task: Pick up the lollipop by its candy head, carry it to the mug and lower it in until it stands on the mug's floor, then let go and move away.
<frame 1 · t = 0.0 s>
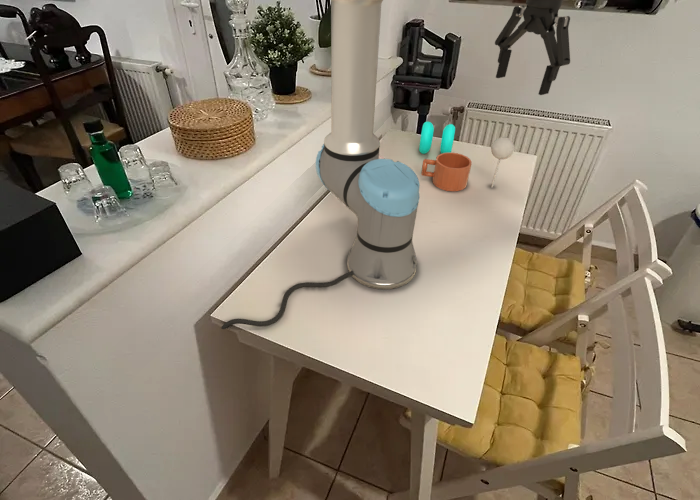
hand: (520, 85, 107), 28 cm above the table, tool pointing down, fingers open, 13 cm apart
donuts: (434, 154, 138), on the table
cupcake: (376, 188, 121), on the table
mug: (449, 182, 124), on the table
lollipop: (491, 187, 123), on the table
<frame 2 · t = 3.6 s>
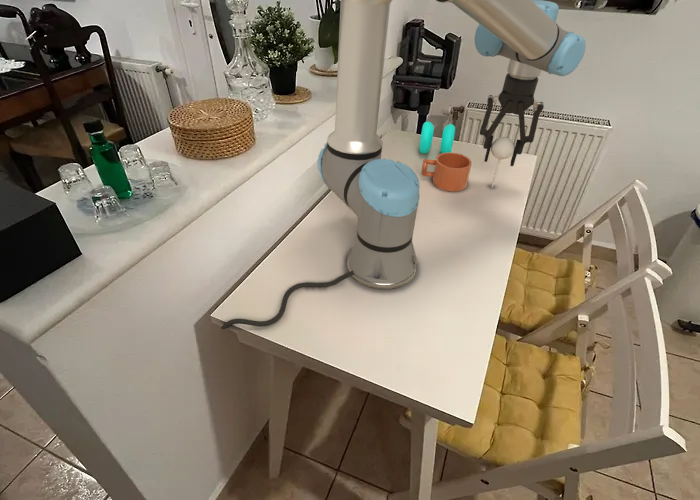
hand: (498, 161, 118), 8 cm above the table, tool pointing down, fingers closed on lollipop, 6 cm apart
lollipop: (491, 187, 123), on the table, touching gripper
everything else where it was.
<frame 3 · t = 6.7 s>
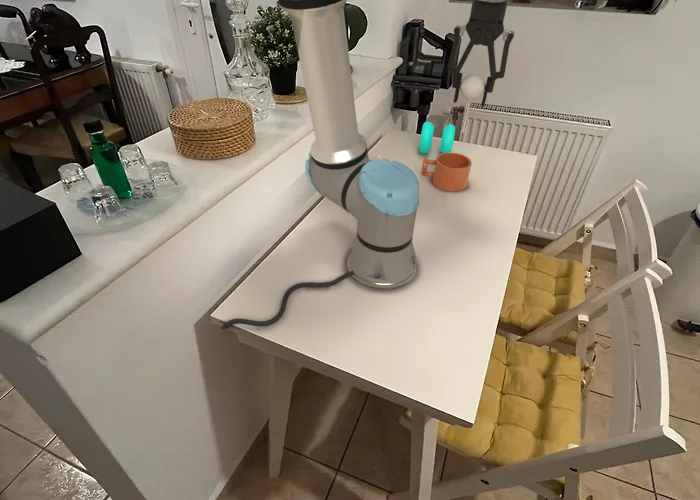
hand: (469, 102, 109), 23 cm above the table, tool pointing down, fingers closed on lollipop, 6 cm apart
lollipop: (462, 133, 114), point 15 cm above the table, touching gripper
everything else where it was.
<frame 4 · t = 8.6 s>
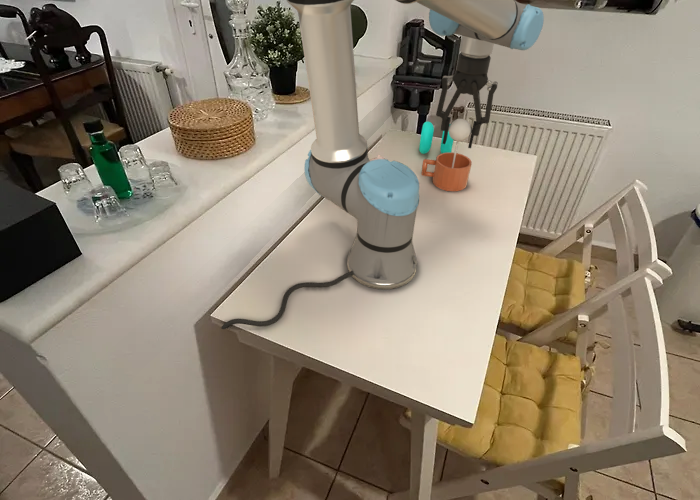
hand: (457, 143, 117), 12 cm above the table, tool pointing down, fingers closed on lollipop, 6 cm apart
lollipop: (451, 170, 122), point 4 cm above the table, touching gripper
everything else where it was.
when the fingers open (9 cm above the table, at t = 9.9 s): lollipop stays where it is, resting on mug.
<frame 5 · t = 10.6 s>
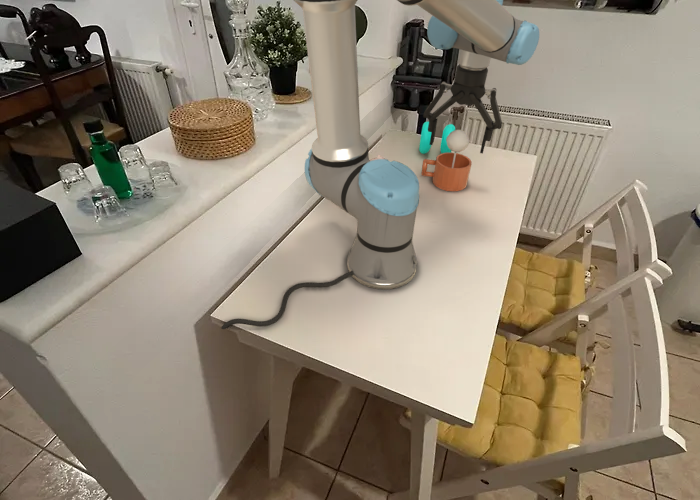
hand: (456, 147, 117), 11 cm above the table, tool pointing down, fingers open, 13 cm apart
lollipop: (449, 180, 124), point 1 cm above the table, touching mug
everything else where it was.
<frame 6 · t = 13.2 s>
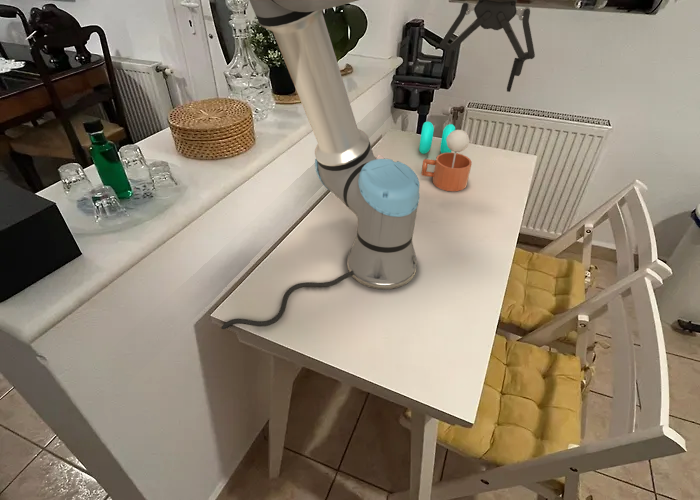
hand: (478, 85, 99), 30 cm above the table, tool pointing down, fingers open, 13 cm apart
nothing on the table moved.
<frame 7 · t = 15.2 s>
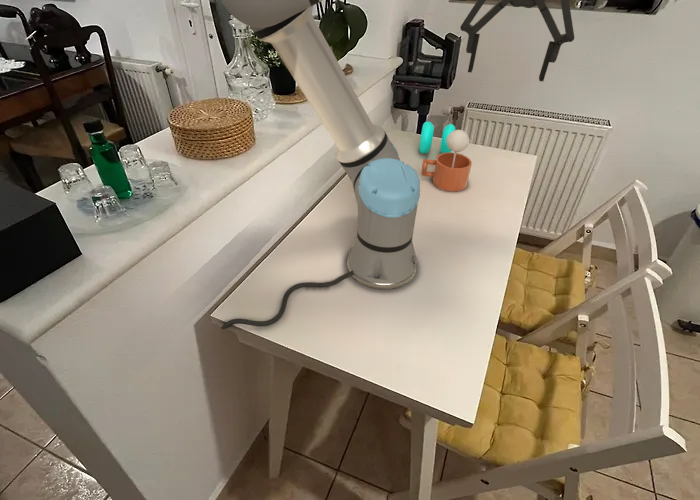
hand: (505, 74, 85), 37 cm above the table, tool pointing down, fingers open, 13 cm apart
nothing on the table moved.
at the end: lollipop inside the target area in the mug (0.0 cm from its centre), point 0.6 cm above the mug's base; the gripper is holding nothing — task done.
